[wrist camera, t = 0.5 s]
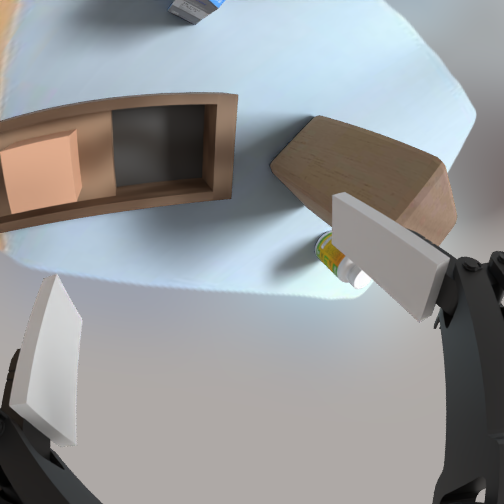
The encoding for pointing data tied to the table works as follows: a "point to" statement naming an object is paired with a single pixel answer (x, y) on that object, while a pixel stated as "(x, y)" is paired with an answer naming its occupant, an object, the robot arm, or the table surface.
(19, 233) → the table surface
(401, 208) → the block
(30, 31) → the table surface
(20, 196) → the clay block
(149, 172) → the channel
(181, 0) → the blue retail box
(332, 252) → the supplement bottle
